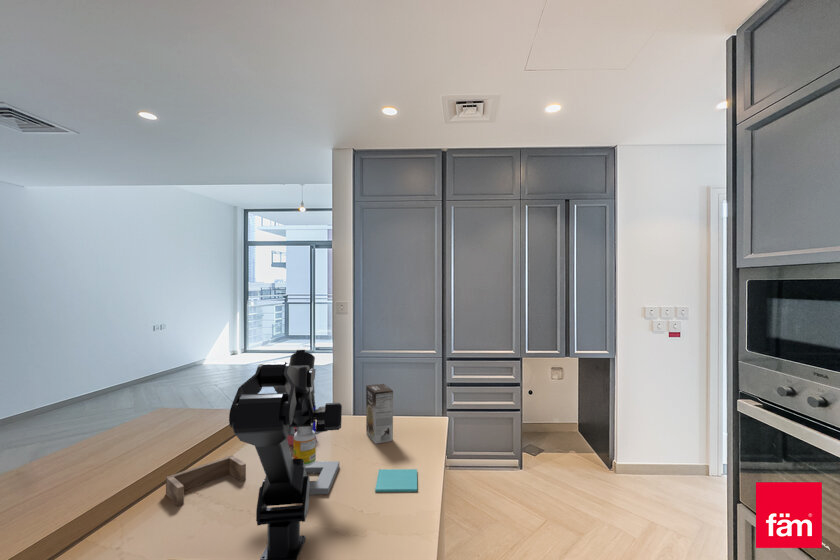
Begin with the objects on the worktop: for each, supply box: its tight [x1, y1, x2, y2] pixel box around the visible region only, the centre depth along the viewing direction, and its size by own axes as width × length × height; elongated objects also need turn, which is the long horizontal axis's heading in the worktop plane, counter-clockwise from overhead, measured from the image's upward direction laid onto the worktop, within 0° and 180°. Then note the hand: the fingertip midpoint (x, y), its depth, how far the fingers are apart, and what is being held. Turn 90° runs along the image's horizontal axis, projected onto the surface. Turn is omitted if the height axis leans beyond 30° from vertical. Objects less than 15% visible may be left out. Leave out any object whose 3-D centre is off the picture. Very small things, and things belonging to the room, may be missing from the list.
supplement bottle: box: [292, 424, 317, 466], centre depth 98 cm, size 5×5×10 cm
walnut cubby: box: [165, 454, 247, 507], centre depth 95 cm, size 8×15×4 cm, turn 140°
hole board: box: [305, 460, 340, 496], centre depth 99 cm, size 14×14×2 cm
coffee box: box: [365, 383, 394, 445], centre depth 126 cm, size 9×6×16 cm
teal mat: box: [374, 468, 418, 493], centre depth 98 cm, size 10×10×1 cm
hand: (305, 433), depth 100 cm, fingers closed on supplement bottle, 5 cm apart
